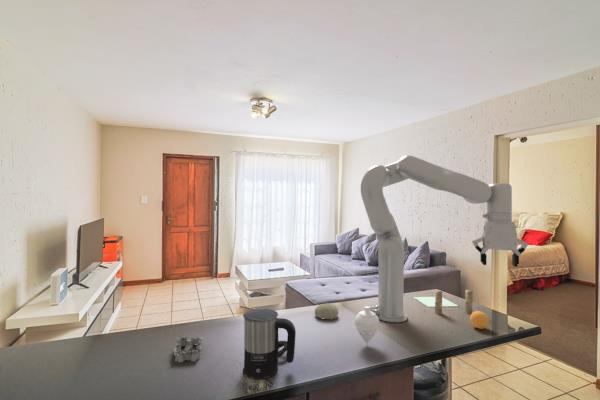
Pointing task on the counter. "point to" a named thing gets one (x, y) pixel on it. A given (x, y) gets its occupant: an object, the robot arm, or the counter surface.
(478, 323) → the ball
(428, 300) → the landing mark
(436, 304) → the left post
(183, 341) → the egg carton
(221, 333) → the counter surface
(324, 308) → the sea urchin shell
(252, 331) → the milk frother
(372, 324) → the spinning top
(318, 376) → the counter surface
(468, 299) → the right post
